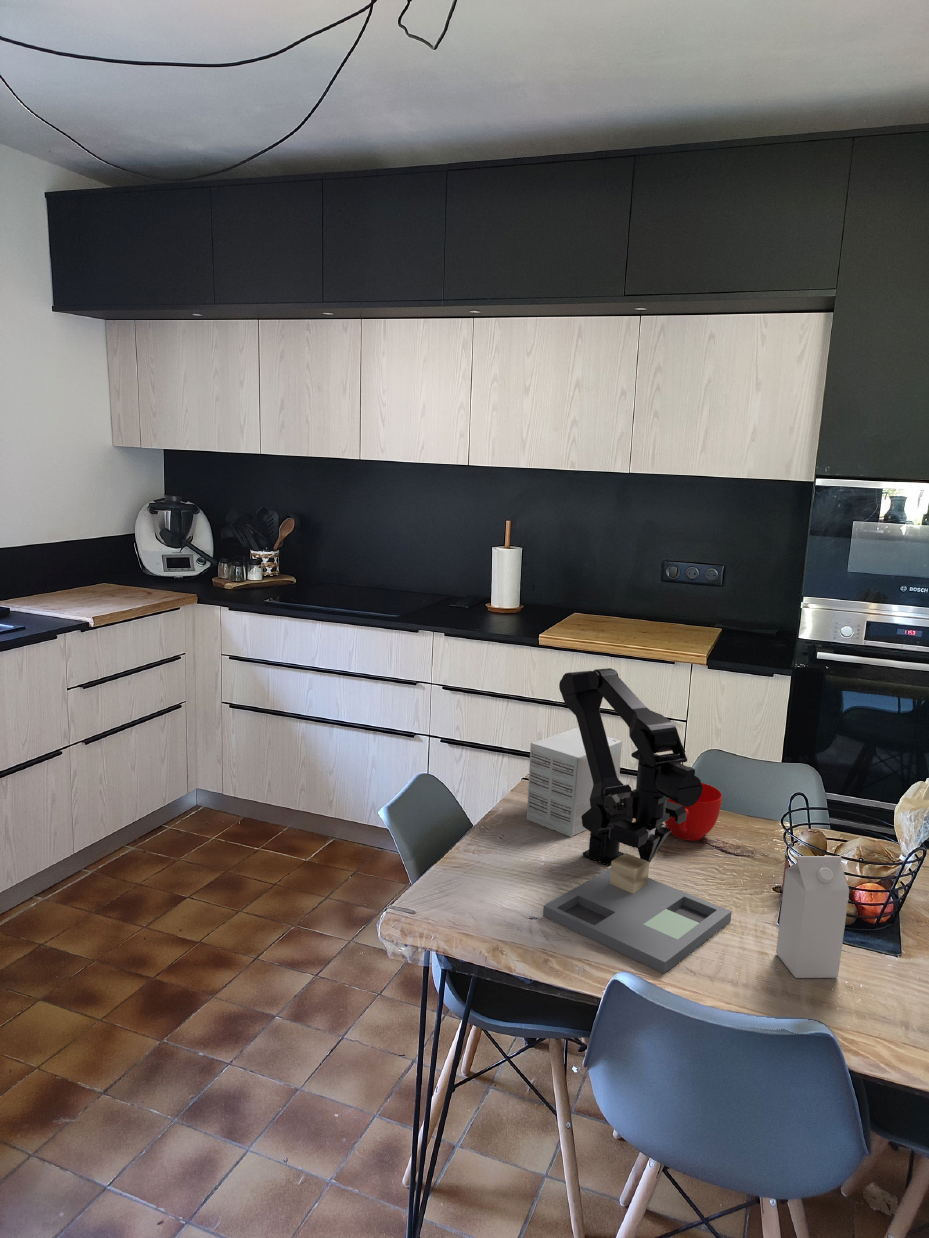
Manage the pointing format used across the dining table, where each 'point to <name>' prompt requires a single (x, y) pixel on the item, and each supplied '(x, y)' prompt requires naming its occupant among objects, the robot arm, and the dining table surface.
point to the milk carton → (813, 917)
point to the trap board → (639, 919)
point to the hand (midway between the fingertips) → (645, 864)
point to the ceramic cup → (698, 815)
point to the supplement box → (562, 781)
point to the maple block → (629, 873)
